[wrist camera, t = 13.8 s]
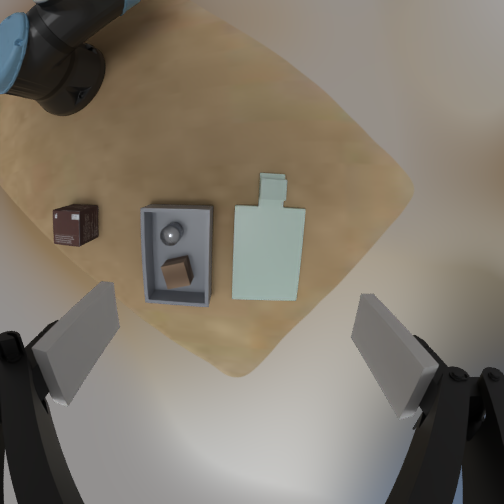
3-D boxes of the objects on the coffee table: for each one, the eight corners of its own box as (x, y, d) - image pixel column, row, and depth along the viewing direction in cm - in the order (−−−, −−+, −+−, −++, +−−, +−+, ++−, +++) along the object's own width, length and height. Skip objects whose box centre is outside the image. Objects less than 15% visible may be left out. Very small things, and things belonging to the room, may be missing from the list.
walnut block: (166, 259, 49) (160, 267, 45) (188, 255, 49) (183, 262, 45) (172, 280, 50) (167, 289, 46) (193, 276, 50) (190, 285, 46)
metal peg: (168, 219, 47) (163, 223, 43) (186, 226, 47) (182, 230, 44) (162, 236, 48) (157, 241, 44) (179, 243, 48) (175, 248, 45)
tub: (150, 204, 47) (140, 208, 42) (213, 205, 47) (210, 209, 42) (153, 290, 51) (145, 302, 46) (211, 294, 51) (208, 307, 47)
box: (73, 234, 47) (53, 243, 40) (73, 203, 46) (52, 209, 39) (99, 237, 48) (79, 247, 41) (99, 205, 46) (79, 211, 39)
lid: (236, 171, 46) (236, 172, 42) (306, 176, 46) (311, 176, 43) (232, 296, 52) (231, 305, 49) (295, 298, 52) (298, 306, 49)
